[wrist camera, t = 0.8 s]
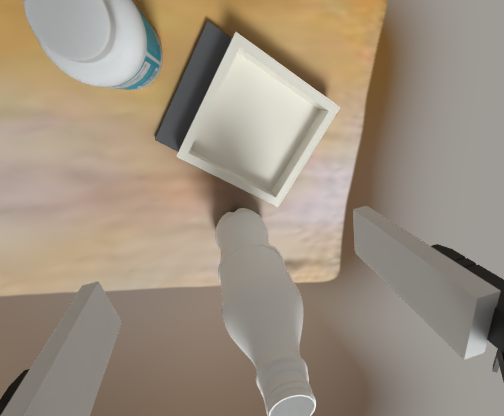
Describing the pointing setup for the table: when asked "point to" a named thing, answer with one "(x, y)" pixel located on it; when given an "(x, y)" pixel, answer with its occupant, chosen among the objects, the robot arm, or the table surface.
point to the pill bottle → (97, 41)
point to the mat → (193, 86)
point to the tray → (256, 123)
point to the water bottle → (263, 312)
